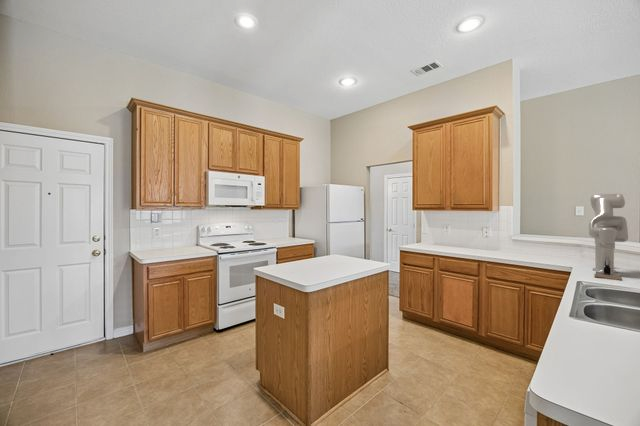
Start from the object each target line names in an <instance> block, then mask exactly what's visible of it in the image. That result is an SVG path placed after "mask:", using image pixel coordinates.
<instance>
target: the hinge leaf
mask: <svg viewBox="0 0 640 426" xmlns="http://www.w3.org/2000/svg"><path fill="white" fill-rule="evenodd" d="M595 274H602V275H611V276H620V274H619V273H618V272H617V273H610V274H608V273H604V272H602V271H595Z"/></svg>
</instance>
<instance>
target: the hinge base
mask: <svg viewBox="0 0 640 426" xmlns="http://www.w3.org/2000/svg"><path fill="white" fill-rule="evenodd" d="M594 279H602V280H603V279H604V280H605V279H606V280H611V281H612V280H613V281H620V282H621V281H623V279H622V276H620V275H619V276H611V275H602V274H596V273H594Z"/></svg>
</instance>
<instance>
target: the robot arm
mask: <svg viewBox="0 0 640 426" xmlns="http://www.w3.org/2000/svg"><path fill="white" fill-rule="evenodd" d="M589 199H590V201H589V202H590V206H591V208H592V209H593V211H594V214H595V216H594V217H593V218H592V219H591V220H589V223H588V235H589V237H590V238H594V243H595V245H594V247H595V249H594V250H595V251H594V252H595V266H594V267H593V268H592V271H595V272H596V271H597V272H604V273H608V274H610V273H617V274H618V271H617V270H616V269H615V268H614V267H615V264H614V263H615V262H614V261H615V258H614V257H615V255H614V254H615V252H614V250H615V248H616V243H624V242H627V241H628V240H629V231H628V222H627V219H626V217H624V216H620V215H616V216H615V215H614V209H622V208H624V207H625V204H626V201H625V198H624V195H623V194H621V193H598V194H597V193H596V194H593V195H592V196H591V197H590V198H589ZM595 226H596V227H595Z"/></svg>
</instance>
